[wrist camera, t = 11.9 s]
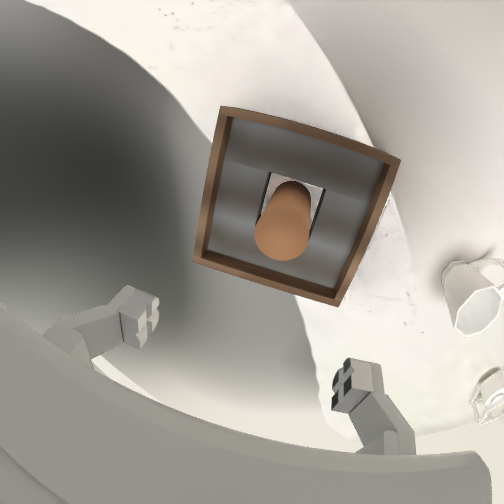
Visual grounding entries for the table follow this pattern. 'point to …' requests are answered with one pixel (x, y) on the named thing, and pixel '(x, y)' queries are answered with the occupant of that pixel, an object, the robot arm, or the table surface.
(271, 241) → the peg
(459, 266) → the cup
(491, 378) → the skeletal toy car
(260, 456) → the robot arm
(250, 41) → the table surface
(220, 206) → the box
